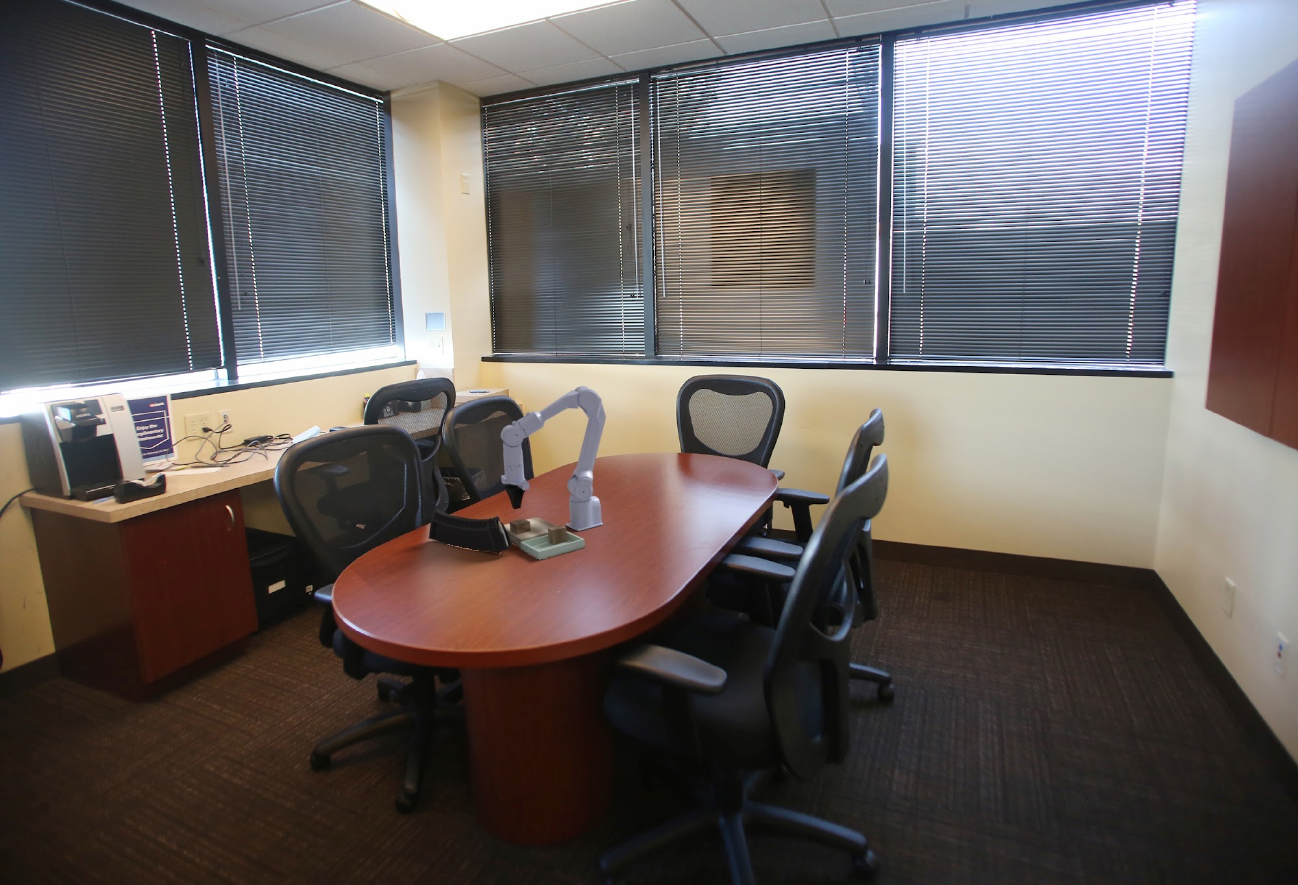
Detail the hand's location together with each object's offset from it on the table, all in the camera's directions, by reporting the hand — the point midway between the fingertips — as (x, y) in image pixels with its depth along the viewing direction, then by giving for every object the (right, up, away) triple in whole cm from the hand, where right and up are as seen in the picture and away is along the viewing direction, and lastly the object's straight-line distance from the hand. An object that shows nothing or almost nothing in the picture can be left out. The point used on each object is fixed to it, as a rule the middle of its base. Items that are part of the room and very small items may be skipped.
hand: (516, 508), depth 218 cm
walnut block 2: (+13, -7, -7) cm, 16 cm away
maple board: (+4, -9, -1) cm, 10 cm away
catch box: (+13, -11, -12) cm, 20 cm away
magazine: (-12, -11, -9) cm, 19 cm away
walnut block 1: (+2, -6, -4) cm, 8 cm away
